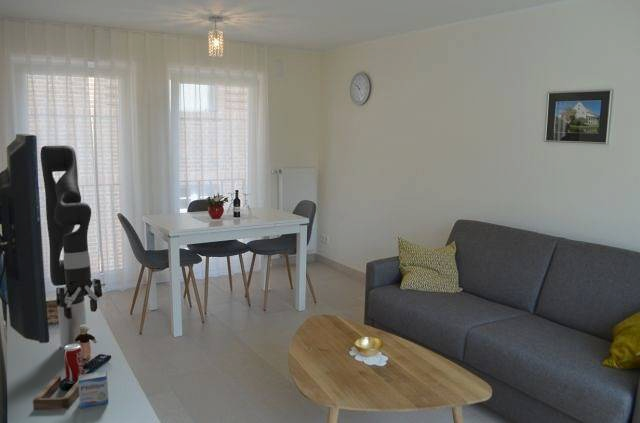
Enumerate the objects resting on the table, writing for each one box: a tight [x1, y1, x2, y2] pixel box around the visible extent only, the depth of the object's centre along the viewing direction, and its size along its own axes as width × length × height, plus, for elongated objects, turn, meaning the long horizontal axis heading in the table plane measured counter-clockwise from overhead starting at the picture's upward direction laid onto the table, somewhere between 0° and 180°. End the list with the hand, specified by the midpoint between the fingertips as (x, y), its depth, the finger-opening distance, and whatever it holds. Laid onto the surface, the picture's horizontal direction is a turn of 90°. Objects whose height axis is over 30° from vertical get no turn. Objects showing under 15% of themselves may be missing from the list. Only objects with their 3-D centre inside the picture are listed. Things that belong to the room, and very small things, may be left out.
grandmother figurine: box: [74, 324, 98, 361], centre depth 183 cm, size 8×4×13 cm, turn 111°
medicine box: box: [78, 370, 109, 409], centre depth 154 cm, size 8×4×9 cm, turn 114°
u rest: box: [32, 375, 79, 411], centre depth 157 cm, size 15×10×3 cm
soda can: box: [63, 344, 85, 381], centre depth 166 cm, size 5×5×12 cm
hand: (81, 314), depth 165 cm, fingers open, 8 cm apart
